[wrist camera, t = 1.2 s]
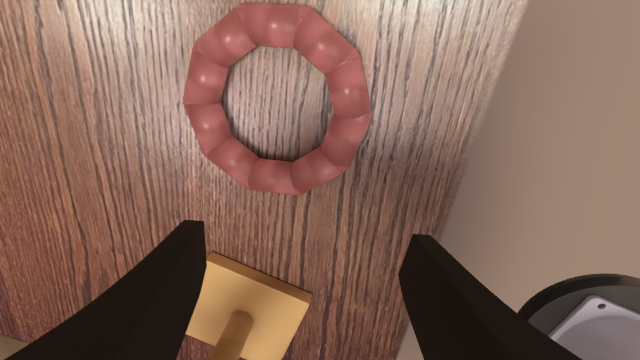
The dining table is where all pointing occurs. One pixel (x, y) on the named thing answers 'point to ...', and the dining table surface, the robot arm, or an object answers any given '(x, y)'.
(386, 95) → the dining table surface
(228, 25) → the ring
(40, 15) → the dining table surface
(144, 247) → the dining table surface
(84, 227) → the dining table surface
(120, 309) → the robot arm
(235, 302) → the stand
